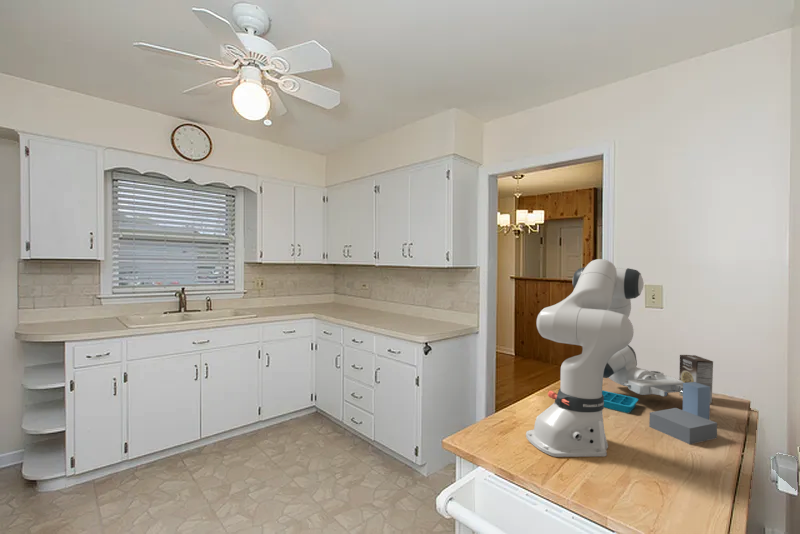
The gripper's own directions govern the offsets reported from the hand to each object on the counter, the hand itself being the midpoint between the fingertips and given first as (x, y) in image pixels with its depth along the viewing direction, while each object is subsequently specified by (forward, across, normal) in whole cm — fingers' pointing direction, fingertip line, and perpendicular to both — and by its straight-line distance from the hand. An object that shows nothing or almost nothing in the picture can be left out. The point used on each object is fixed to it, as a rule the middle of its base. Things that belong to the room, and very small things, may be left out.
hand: (676, 393), depth 130 cm
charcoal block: (+13, -13, +7) cm, 19 cm away
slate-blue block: (+7, 0, +7) cm, 10 cm away
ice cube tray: (-13, -18, +8) cm, 23 cm away
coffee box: (-9, +20, +7) cm, 23 cm away
